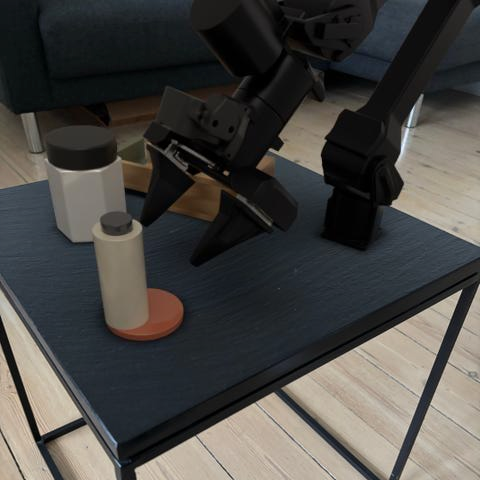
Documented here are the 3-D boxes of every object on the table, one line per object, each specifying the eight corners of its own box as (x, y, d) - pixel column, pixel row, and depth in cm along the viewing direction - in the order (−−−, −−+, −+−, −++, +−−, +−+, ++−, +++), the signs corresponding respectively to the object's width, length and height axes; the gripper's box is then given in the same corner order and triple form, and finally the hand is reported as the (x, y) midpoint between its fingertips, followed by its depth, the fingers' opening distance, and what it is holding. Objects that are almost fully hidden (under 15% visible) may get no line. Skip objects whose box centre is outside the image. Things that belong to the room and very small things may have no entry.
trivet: (199, 311, 55) (198, 305, 54) (148, 352, 49) (147, 345, 49) (142, 285, 58) (141, 279, 57) (88, 320, 53) (87, 314, 52)
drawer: (94, 184, 76) (90, 155, 73) (133, 161, 84) (131, 134, 81) (169, 203, 72) (168, 173, 70) (203, 177, 80) (203, 149, 77)
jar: (138, 232, 67) (130, 141, 60) (79, 251, 63) (63, 155, 56) (105, 207, 73) (94, 119, 65) (49, 222, 68) (31, 131, 61)
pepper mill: (138, 299, 55) (129, 203, 48) (156, 321, 52) (149, 223, 45) (98, 311, 53) (83, 213, 46) (115, 335, 50) (101, 234, 43)
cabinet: (159, 208, 73) (157, 167, 69) (197, 179, 81) (197, 141, 78) (241, 229, 69) (243, 186, 66) (272, 196, 78) (275, 157, 74)
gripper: (153, 29, 48) (61, 168, 50) (286, 74, 37) (162, 251, 38) (220, 104, 57) (140, 220, 58) (344, 159, 46) (241, 300, 47)
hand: (166, 243), depth 50 cm, fingers open, 9 cm apart
